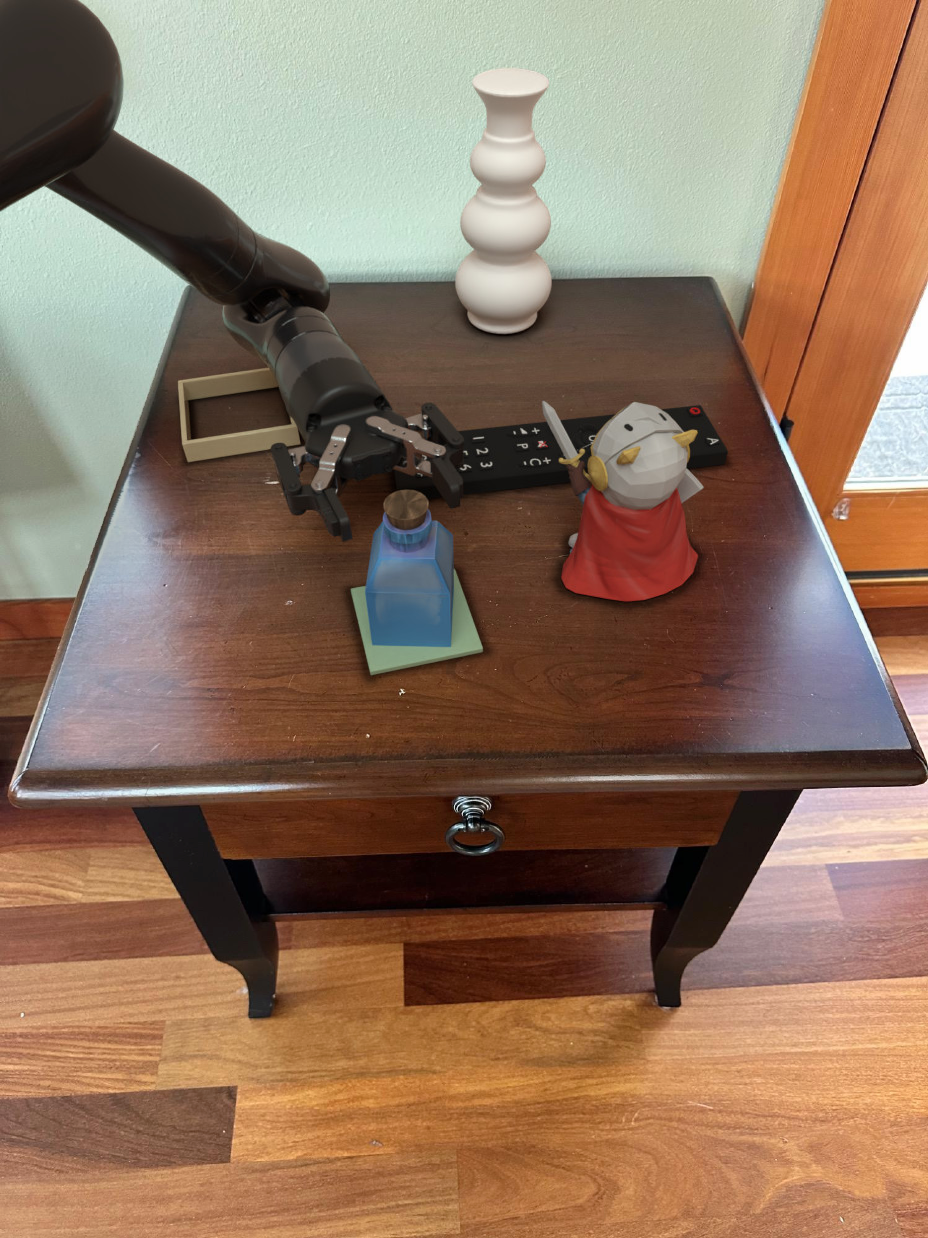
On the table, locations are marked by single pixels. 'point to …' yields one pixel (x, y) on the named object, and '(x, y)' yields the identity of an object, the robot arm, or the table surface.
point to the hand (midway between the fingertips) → (402, 515)
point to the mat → (410, 656)
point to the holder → (235, 441)
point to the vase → (506, 208)
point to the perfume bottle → (410, 576)
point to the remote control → (549, 453)
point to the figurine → (630, 506)
